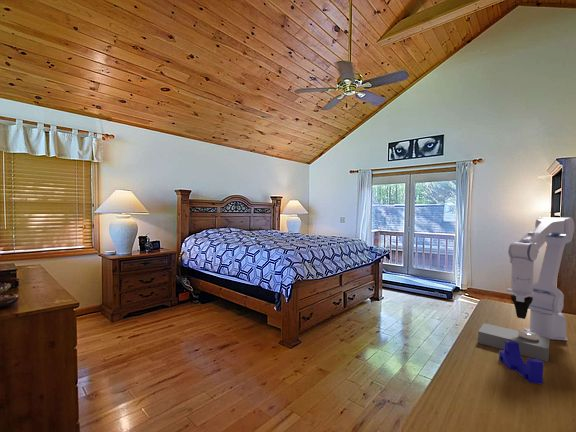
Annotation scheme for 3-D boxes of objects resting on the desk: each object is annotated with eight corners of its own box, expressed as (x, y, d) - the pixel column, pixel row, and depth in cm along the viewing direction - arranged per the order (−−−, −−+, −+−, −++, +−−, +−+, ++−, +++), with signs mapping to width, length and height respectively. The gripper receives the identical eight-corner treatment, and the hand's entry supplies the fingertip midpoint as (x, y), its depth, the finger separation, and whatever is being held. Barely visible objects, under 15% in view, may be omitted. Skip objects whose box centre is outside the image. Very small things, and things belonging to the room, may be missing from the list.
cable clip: (499, 359, 89) (499, 340, 89) (515, 361, 89) (515, 341, 89) (523, 382, 78) (524, 360, 77) (542, 384, 77) (543, 362, 77)
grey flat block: (549, 350, 95) (549, 338, 95) (548, 361, 88) (548, 348, 88) (483, 333, 107) (483, 323, 107) (478, 342, 100) (478, 331, 100)
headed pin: (532, 345, 97) (532, 331, 97) (542, 353, 92) (543, 337, 92) (514, 344, 98) (515, 329, 98) (524, 352, 93) (524, 336, 93)
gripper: (509, 272, 106) (508, 309, 107) (504, 280, 95) (504, 320, 96) (535, 275, 101) (534, 314, 102) (532, 283, 91) (532, 326, 91)
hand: (521, 317), depth 99 cm, fingers closed
